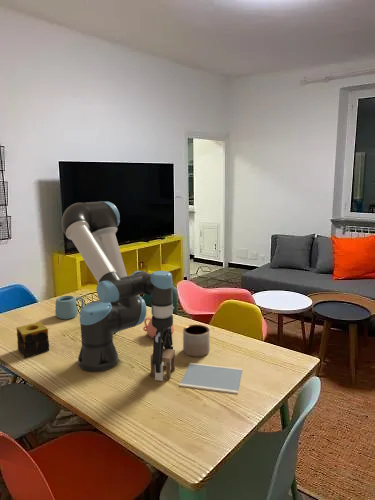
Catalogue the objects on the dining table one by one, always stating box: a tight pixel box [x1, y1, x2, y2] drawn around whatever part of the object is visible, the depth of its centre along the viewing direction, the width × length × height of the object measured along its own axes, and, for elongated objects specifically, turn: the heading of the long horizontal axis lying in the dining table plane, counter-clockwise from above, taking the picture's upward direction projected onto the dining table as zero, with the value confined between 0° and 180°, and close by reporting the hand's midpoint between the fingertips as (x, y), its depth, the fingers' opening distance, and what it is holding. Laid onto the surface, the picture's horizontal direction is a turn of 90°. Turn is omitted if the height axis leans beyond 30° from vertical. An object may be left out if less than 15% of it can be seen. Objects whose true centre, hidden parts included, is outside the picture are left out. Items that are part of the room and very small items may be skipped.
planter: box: [182, 324, 211, 358], centre depth 154 cm, size 11×11×10 cm
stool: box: [150, 348, 176, 380], centre depth 137 cm, size 7×7×8 cm
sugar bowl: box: [142, 316, 175, 339], centre depth 170 cm, size 12×14×10 cm
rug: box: [178, 362, 243, 395], centre depth 135 cm, size 20×16×1 cm
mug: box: [54, 295, 85, 320], centre depth 194 cm, size 15×11×10 cm
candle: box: [16, 321, 50, 359], centre depth 156 cm, size 10×10×10 cm
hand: (163, 372), depth 138 cm, fingers open, 9 cm apart
